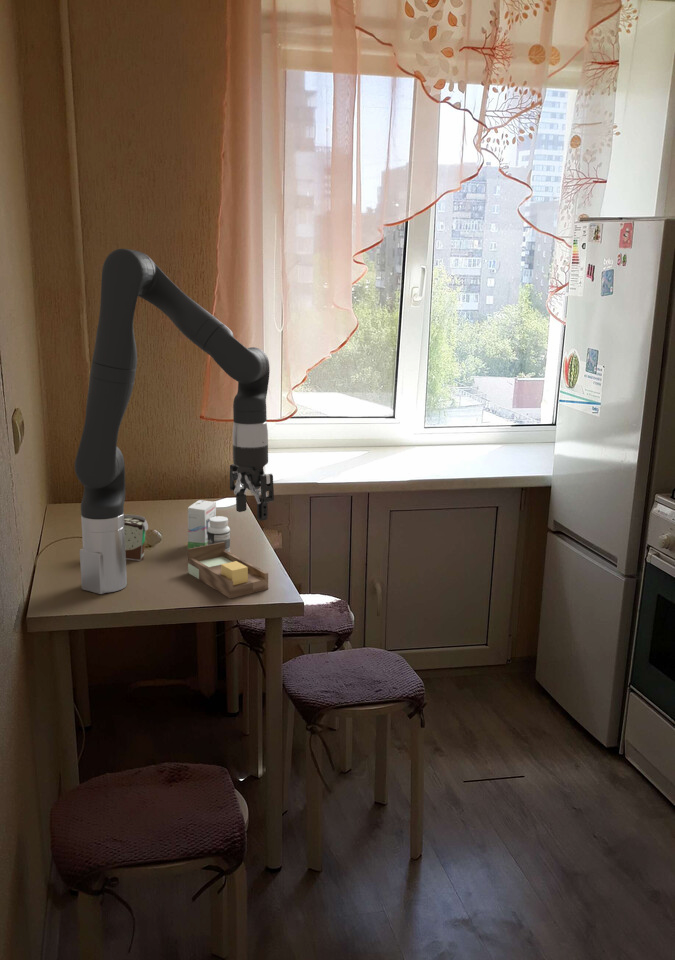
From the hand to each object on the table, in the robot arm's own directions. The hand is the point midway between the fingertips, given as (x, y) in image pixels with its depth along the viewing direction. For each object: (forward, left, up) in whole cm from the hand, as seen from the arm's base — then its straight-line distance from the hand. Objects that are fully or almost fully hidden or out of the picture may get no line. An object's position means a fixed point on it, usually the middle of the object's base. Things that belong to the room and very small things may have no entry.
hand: (251, 515), depth 181 cm
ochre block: (+1, +6, -16) cm, 17 cm away
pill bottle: (+18, +24, -19) cm, 35 cm away
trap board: (+5, +11, -19) cm, 22 cm away
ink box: (+21, +32, -19) cm, 42 cm away
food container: (+6, +43, -19) cm, 47 cm away
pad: (+7, +18, -19) cm, 27 cm away
